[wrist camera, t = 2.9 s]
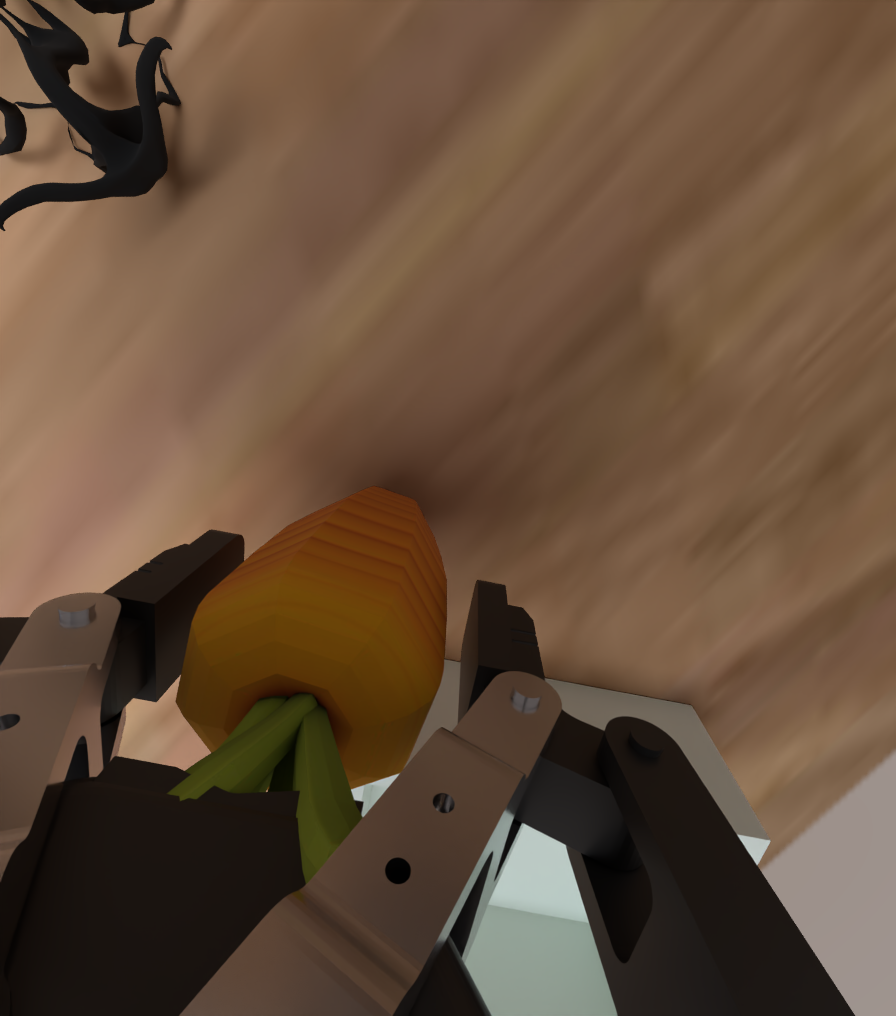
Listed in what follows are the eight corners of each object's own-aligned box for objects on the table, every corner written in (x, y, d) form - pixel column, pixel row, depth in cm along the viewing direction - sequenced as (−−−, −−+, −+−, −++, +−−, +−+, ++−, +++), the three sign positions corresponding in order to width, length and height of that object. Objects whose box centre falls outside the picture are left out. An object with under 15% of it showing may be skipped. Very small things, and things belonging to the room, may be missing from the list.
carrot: (457, 439, 18) (383, 822, 4) (463, 564, 20) (426, 1163, 5) (321, 445, 18) (-208, 815, 4) (338, 568, 20) (-3, 1138, 6)
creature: (-23, 91, 16) (113, 297, 17) (-289, -70, 11) (-84, 233, 11) (138, -102, 15) (289, 130, 15) (-87, -403, 9) (151, -38, 9)
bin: (380, 647, 21) (344, 762, 15) (691, 705, 21) (770, 840, 15) (345, 867, 25) (307, 1019, 20) (602, 914, 25) (639, 1079, 20)
